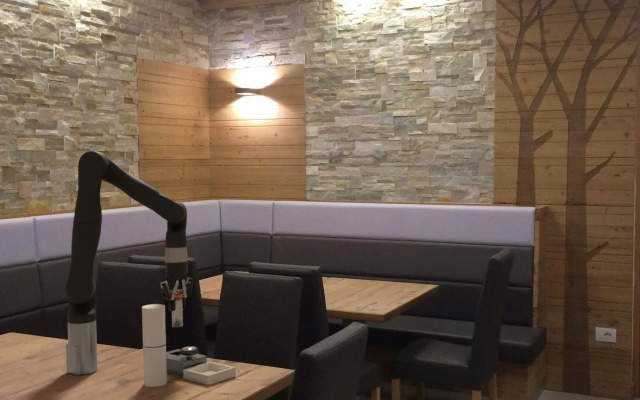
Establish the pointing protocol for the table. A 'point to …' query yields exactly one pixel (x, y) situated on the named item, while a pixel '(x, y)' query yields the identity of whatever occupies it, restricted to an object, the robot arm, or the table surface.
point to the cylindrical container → (154, 345)
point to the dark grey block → (183, 360)
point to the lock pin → (178, 311)
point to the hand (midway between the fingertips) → (177, 309)
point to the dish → (209, 373)
